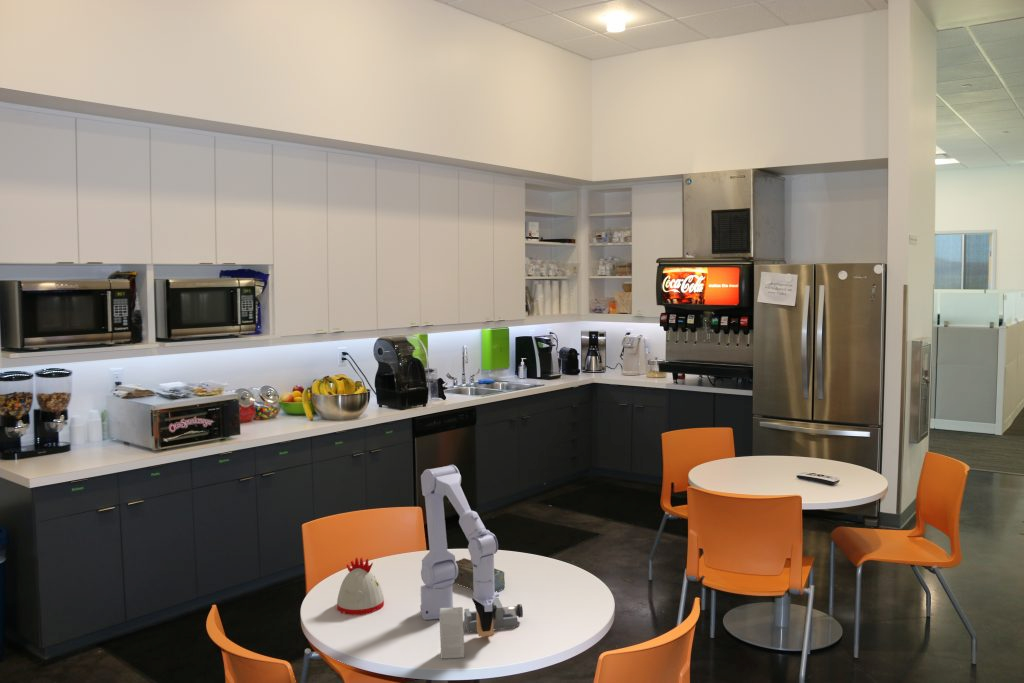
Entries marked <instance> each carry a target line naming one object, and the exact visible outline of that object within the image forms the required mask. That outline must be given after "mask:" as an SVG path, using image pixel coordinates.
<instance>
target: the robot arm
mask: <svg viewBox="0 0 1024 683" xmlns="http://www.w3.org/2000/svg"><path fill="white" fill-rule="evenodd" d="M420 483H421V492H422V496H423V497H424V503H425V511H426V512H425V513H426V514H425V515H426V524H427V525H426V526H427V536H428V547H429V551H428V552H427V553H426V554H425V556H424V557H423V558H422V559H421V569H420V576H421V581H422V582H423V584H422V585H420V607H419V608H420V612H421V616H422V620H424V621H428V620H437V619H439V613H440V608H454V600H453V599H454V598H453V596H454V595H453V584H455V583H454V579H456V578H457V576H458V566H457V564H456V561H457V560H456V555H455V554H454V553H453V552H451V551H449V550H448V542H447V541H448V540H447V530H446V529H447V528H446V520H445V519H446V518H445V507H444V497H445V496H446V497H447V498H448V500H449V502H450V503H451V505H452V507H453V508H454V510H455V512H456V513H457V514H458V516H459V520H458V524H459V526H460V528H461V529H462V532H463V533H464V535H465V538H466V540H467V541H468V545H467V550H468V553H469V556H470V560H471V562H472V563H473V588H474V590H473V594H472V602H473V604H474V607H475V609H476V610H477V612H478V614H479V617H480V623H481V628H482V631H483V632H484V631H490V629H491V625H492V619H493V616H494V614H495V612H496V610H497V606H496V605H494V606H492V603H493V601H494V599H495V598H499V597H500V593H499V591H498V592H495V588H494V568H495V554H497V553H498V550H499V543H498V539H497V536H496V535H495V534H494V533H493V532H491V531H490V530H489V529H486V526H485V525H484V523H483V521H482V520H481V518H480V516H479V513H478V512H477V511H474V510H472V509H471V507H470V505H469V502H468V500H467V497H466V495H465V493H464V491H463V489H462V486H461V483H462V476H461V474H460V470H459V469H458V467H457V466H456V465H455V464H449V465H446V466H442V467H435V468H427V469H424V471H423V472H422V474H421V475H420ZM476 610H475V611H476ZM439 620H440V619H439Z"/></svg>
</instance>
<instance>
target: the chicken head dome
mask: <svg viewBox="0 0 1024 683" xmlns="http://www.w3.org/2000/svg"><path fill="white" fill-rule="evenodd" d="M373 563H374V562H373V561H372V562H371V563H370V564H369V558H366V560H365V562H364V559H363V557H361V558H360V559H359V558H358V557H355V561H353V560H351V561H350V565H351V566H350V565H349V564H348V563H347V564H346V568H347V570H348V573H347V574H346V576H344V578H343V580H342V582H341V585H340V588H339V591H338V594H337V595H338V596H337V599H336V600H337V601H336V605H337V606H336V609H337V611H338V612H339V613H341V614H344V615H349V616H362V615H368V614H372V613H375V612H377V611H379V610H381V609H383V607H384V605H385V598H384V592H383V590H382V589H383V588H382V587H381V585H380V582H379V580H378V578H377V577H376V576H375V575H374V573H373V572H372V571H371V569H372V567H373Z"/></svg>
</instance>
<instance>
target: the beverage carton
mask: <svg viewBox="0 0 1024 683" xmlns="http://www.w3.org/2000/svg"><path fill="white" fill-rule="evenodd" d="M456 564H457V566H458V576H457V578H456V579H454V583H453V584H455V583H456V584H455V585H458V584H459V585H458V586H460V585H462V586H461V587H463V586H465V587H464V588H466V587H468V588H471V589H473V590H472V591H474V588H473V563H472V562H471V559H468V558H465V557H463V558H461V559H459V560H456ZM505 581H506V580H505V571H503V570H500V569H497V568H495V567H494V588H495V592H496V591H498V592H500V591H499V590H501V589H503V590H505V589H504V588H506V586H505V584H506V582H505ZM468 588H467V589H468ZM471 589H470V590H471ZM501 591H502V590H501Z"/></svg>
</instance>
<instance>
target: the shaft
mask: <svg viewBox="0 0 1024 683" xmlns="http://www.w3.org/2000/svg"><path fill="white" fill-rule="evenodd" d="M523 610H524V609H523V605H522V604H521V603H519V604H516V605H513V606H503V618H505V617H516V616H517V618H523V617H524V611H523Z"/></svg>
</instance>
